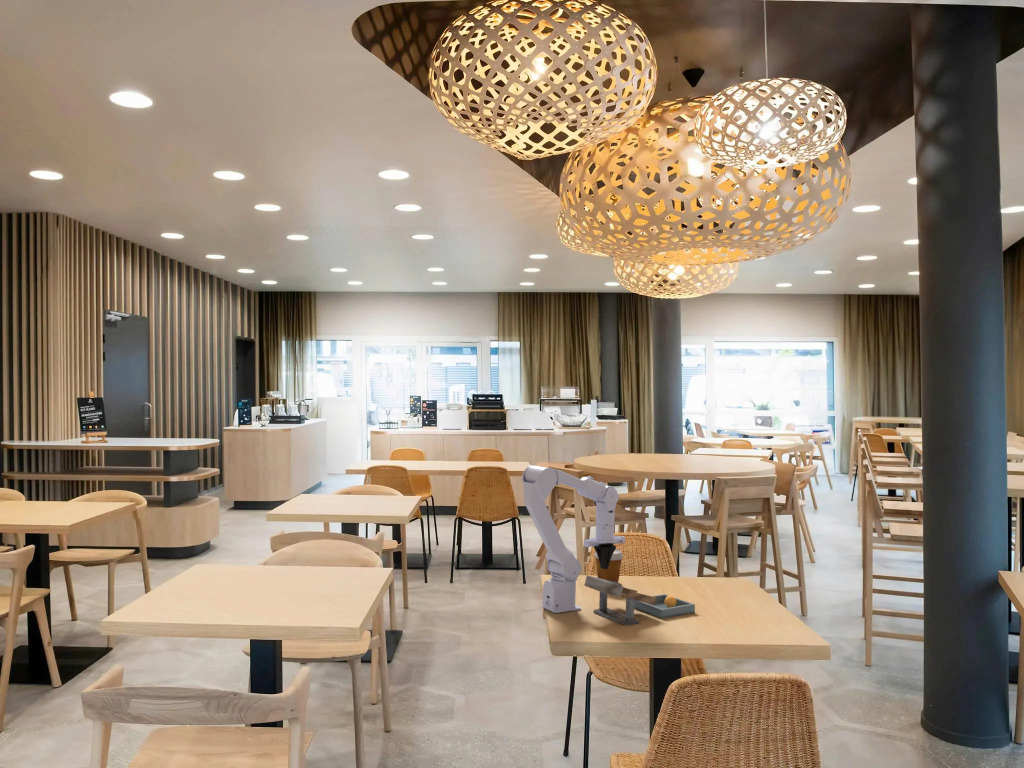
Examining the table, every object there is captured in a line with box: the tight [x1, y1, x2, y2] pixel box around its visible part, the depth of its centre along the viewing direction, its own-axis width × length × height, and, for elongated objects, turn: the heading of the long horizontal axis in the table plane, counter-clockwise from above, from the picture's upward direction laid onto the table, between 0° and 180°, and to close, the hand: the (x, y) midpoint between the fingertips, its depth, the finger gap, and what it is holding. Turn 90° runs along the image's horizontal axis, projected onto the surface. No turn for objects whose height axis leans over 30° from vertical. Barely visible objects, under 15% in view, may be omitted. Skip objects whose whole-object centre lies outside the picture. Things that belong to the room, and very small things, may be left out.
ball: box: [665, 595, 676, 608], centre depth 236 cm, size 4×4×4 cm
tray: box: [634, 593, 696, 619], centre depth 235 cm, size 13×13×2 cm
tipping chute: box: [583, 575, 656, 605], centre depth 230 cm, size 20×17×3 cm
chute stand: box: [593, 591, 640, 626], centre depth 225 cm, size 5×15×7 cm, turn 31°
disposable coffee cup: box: [594, 548, 624, 583], centre depth 261 cm, size 10×10×12 cm
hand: (604, 568), depth 242 cm, fingers closed
